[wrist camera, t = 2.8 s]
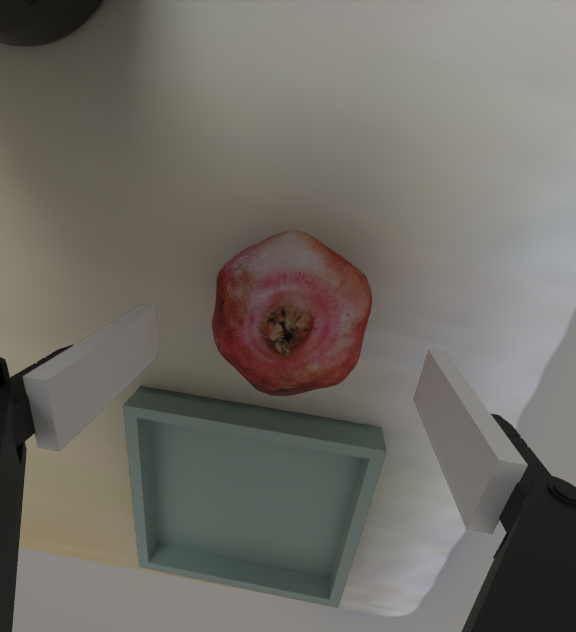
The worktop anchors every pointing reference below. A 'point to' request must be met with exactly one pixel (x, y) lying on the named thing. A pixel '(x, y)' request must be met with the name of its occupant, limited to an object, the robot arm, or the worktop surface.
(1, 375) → the robot arm
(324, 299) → the fruit
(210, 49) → the worktop surface
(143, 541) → the tray
